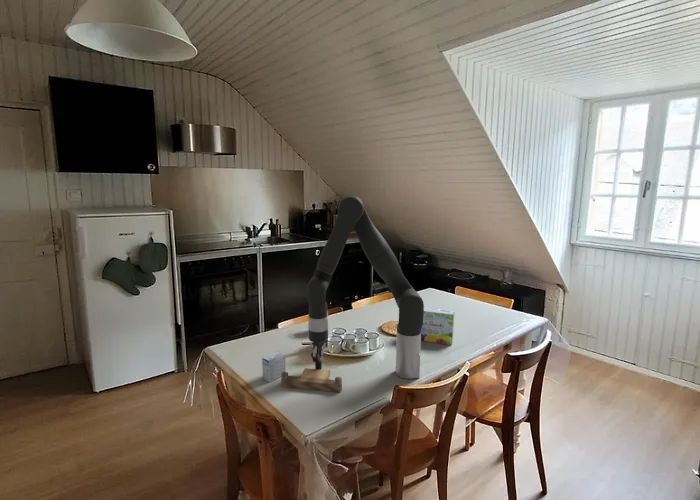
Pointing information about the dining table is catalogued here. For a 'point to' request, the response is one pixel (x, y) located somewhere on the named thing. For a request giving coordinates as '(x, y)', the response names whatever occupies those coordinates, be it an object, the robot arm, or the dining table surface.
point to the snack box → (437, 326)
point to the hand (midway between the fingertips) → (318, 369)
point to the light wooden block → (316, 373)
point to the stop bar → (311, 383)
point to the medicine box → (273, 366)
